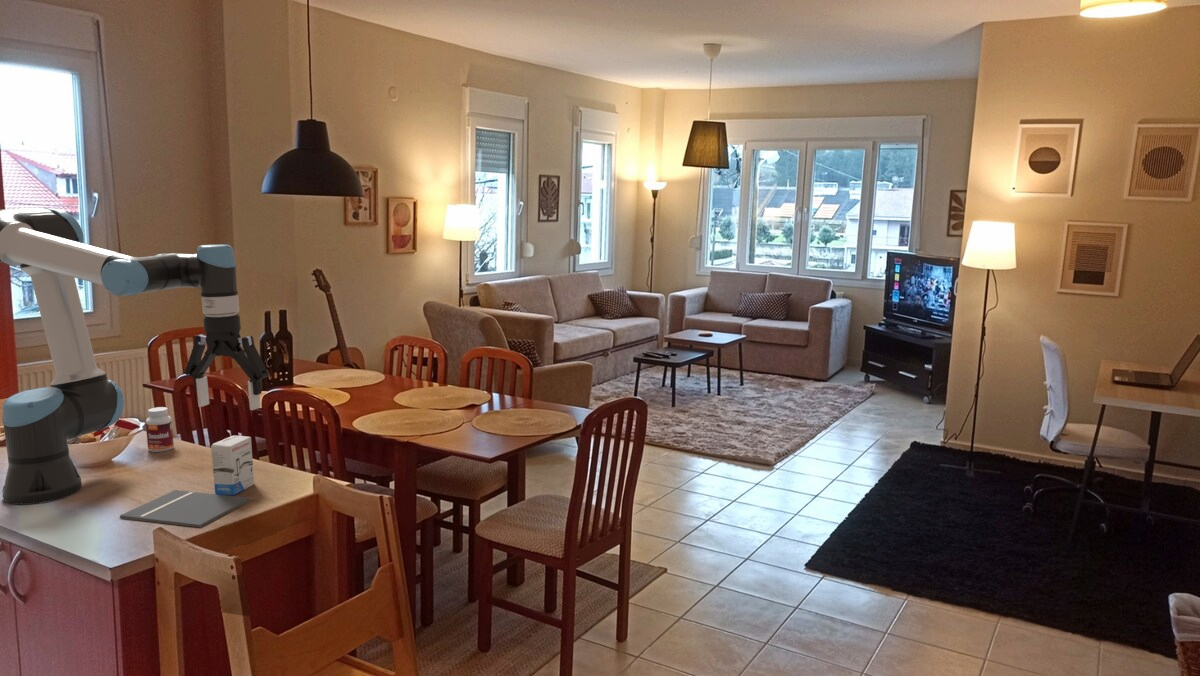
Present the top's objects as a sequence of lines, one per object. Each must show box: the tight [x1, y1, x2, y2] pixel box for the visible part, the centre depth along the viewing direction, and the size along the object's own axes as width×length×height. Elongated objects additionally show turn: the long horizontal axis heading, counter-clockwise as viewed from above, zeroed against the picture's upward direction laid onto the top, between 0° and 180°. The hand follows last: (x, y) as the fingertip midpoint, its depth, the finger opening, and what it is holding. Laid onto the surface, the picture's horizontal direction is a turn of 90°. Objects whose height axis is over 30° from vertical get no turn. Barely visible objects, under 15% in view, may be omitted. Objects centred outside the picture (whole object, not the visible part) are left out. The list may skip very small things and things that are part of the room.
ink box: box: [210, 435, 255, 496], centre depth 197 cm, size 9×5×12 cm, turn 168°
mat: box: [119, 489, 252, 528], centre depth 186 cm, size 20×16×1 cm
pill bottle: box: [145, 406, 175, 453], centre depth 228 cm, size 6×6×11 cm
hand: (229, 407), depth 194 cm, fingers open, 13 cm apart
